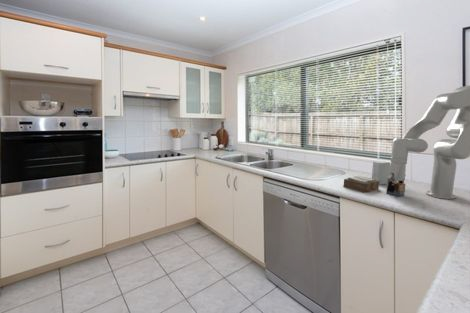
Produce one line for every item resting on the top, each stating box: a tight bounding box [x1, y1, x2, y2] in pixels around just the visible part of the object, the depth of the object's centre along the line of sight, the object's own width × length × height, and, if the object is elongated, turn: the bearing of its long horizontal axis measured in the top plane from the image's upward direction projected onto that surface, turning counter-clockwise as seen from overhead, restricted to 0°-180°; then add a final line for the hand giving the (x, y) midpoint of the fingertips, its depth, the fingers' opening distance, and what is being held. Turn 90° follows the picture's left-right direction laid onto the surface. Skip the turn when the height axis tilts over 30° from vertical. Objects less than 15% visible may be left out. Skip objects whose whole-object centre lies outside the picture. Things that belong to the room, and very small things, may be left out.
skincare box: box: [371, 160, 391, 186], centre depth 162 cm, size 8×6×15 cm
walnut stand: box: [343, 175, 380, 193], centre depth 152 cm, size 14×14×6 cm
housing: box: [386, 181, 406, 198], centre depth 138 cm, size 5×7×7 cm
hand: (395, 190), depth 139 cm, fingers open, 9 cm apart
